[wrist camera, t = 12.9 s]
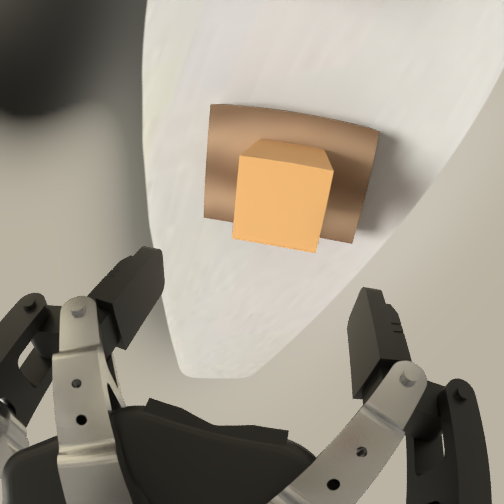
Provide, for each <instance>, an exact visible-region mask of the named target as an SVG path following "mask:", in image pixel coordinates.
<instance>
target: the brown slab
mask: <svg viewBox="0 0 504 504" xmlns="http://www.w3.org/2000/svg"><path fill="white" fill-rule="evenodd" d="M378 137H379V131H377V130H374V129H371V128H368V127H364V126H360V125H356V124H352V123H348V122H343V121H339V120H334V119H329V118H324V117H319V116H314V115H308V114H303V113H297V112H290V111H284V110H276V109H269V108H260V107H251V106H241V105H228V104H211V106H210V117H209V130H208V144H207V159H206V176H205V197H204V218H210V219H216V220H222V221H228V222H234V211H235V200H236V188H237V177H238V167H239V156H240V155H241V154H242V153H243V152H244V151H246V150H247V149H248V148H249V147H251V146H252V145H253V144H254V143H255V142H257V141H258V140H259V139H266V140H273V141H280V142H287V143H293V144H299V145H305V146H310V147H316V148H321V149H324V150H325V153H326V155H327V157H328V159H329V161H330V164H331V166H332V168H333V170H334V172H333V177H332V182H331V187H330V192H329V197H328V201H327V206H326V210H325V215H324V219H323V224H322V228H321V232H320V237H319V238H325V239H330V240H335V241H340V242H346V243H351V244H352V242H353V239H354V235H355V232H356V228H357V225H358V221H359V217H360V214H361V210H362V206H363V202H364V199H365V195H366V191H367V187H368V183H369V178H370V174H371V170H372V165H373V161H374V156H375V151H376V147H377V142H378Z"/></svg>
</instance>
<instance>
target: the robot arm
mask: <svg viewBox="0 0 504 504" xmlns="http://www.w3.org/2000/svg"><path fill="white" fill-rule="evenodd" d="M164 283H165V279H164V267H163V255H162V251H161V250H160V249H156V248H151V247H146V246H143V247H141V249H139V251H138V252H137V253H136V254H135V255H134V256H129V257H127V258H125V259H123V260H121V261H120V262H119V263H118V264H117V265H116V266H115V267H114V268H113V270H111V271H110V272H109V273H108V274H107V276H105V277H104V278H103V279H102V281H101V282H100V283H99V284H98V285H97V286H96V287H95V288H94V289H93V290H92V291H91V293H90V294H89V295H88V296H77V297H74V298H71V299H70V300H68V301H67V302H66V303H65V304H64V305H63V306H51V305H50V306H49V305H47V303H46V300H45V298H44V296H43V295H41V294H39V293H31V294H28V295H26V296H24V297H23V298H21V299H20V300H19V301H18V302H17V303H16V304H15V306H14V307H13V308H12V309H11V310H10V311H9V312H8V314H7V315H6V316H5V317H4V318H3V319H2V320H1V322H0V478H1V479H2V491H3V504H355V503H356V502H357V501H358V499H359V498H360V497H361V496H362V495H363V494H364V493H365V491H366V490H367V489H368V488H369V486H370V485H371V484H372V482H373V481H374V480H375V478H376V477H377V476H378V474H379V473H380V472H381V470H382V469H383V467H384V466H385V465H386V463H387V462H388V460H389V459H390V457H391V456H392V454H393V453H394V451H395V450H396V448H397V447H398V445H399V443H400V442H401V440H402V439H403V437H404V435H406V448H407V498H406V504H492V500H491V482H490V471H489V463H488V455H487V448H486V442H485V436H484V431H483V427H482V421H481V417H480V412H479V408H478V404H477V400H476V396H475V392H474V390H473V388H472V387H471V386H470V385H469V384H468V383H467V382H466V381H464V380H462V379H453V380H451V381H450V382H449V383H448V384H447V385H446V386H441V385H439V384H436V383H432V382H430V381H427V378H426V375H425V373H424V371H423V370H422V369H421V368H420V367H419V366H418V365H417V364H415V363H413V362H412V361H411V358H410V353H409V350H408V346H407V342H406V339H405V335H404V334H403V329H402V326H401V322H400V319H399V316H398V313H397V312H396V311H395V309H394V308H393V307H392V306H391V305H390V304H386V303H385V300H384V297H383V294H382V291H381V290H377V289H371V288H365V287H363V288H362V289H361V290H360V293H359V295H358V298H357V300H356V303H355V305H354V307H353V310H352V312H351V315H350V317H349V321H348V327H347V333H348V343H349V353H350V365H351V378H352V394H353V399H363V406H362V407H361V409H360V410H359V411H358V412H357V413H356V415H355V416H354V417H353V418H352V419H351V421H350V422H349V423H348V424H347V425H346V426H345V428H344V429H343V430H342V431H341V432H340V433H339V435H337V437H336V438H335V439H334V440H333V441H332V442H331V443H330V444H329V445H328V446H327V447H326V448H325V449H324V450H323V451H322V452H321V453H320V454H319V455H318V456H317V457H315V456H314V455H313V454H312V453H311V452H310V451H308V450H307V449H306V448H304V447H303V446H301V445H299V444H297V443H295V442H293V441H291V440H288V439H287V437H288V430H280V429H273V428H267V427H261V426H255V425H245V426H244V425H241V426H217V425H213V424H210V423H208V422H206V421H204V420H202V419H200V418H198V417H197V416H195V415H193V414H191V413H189V412H188V411H186V410H184V409H182V408H179V407H176V406H173V405H170V404H166V403H163V402H160V401H157V400H154V399H152V398H149V400H148V402H147V404H146V406H127V407H126V405H125V402H124V399H123V397H122V394H121V390H120V385H119V381H118V376H117V371H116V366H115V361H114V356H113V353H112V352H113V350H114V348H115V347H119V348H121V349H124V350H126V349H127V347H128V346H129V344H130V343H131V341H132V339H133V338H134V336H135V335H136V333H137V331H138V330H139V328H140V326H141V325H142V324H143V322H144V320H145V319H146V317H147V316H148V314H149V313H150V311H151V310H152V308H153V306H154V305H155V304H156V302H157V300H158V299H159V297H160V296H161V294H162V292H163V289H164ZM30 341H31V342H32V344H33V346H34V348H33V350H32V351H31V353H30V354H29V355H28V357H27V358H26V360H25V361H24V363H23V364H22V366H21V367H20V369H19V367H18V359H19V356H20V355H21V353H22V352H23V350H24V349H25V348H26V346H27V345H28V344H29V342H30ZM52 380H53V397H54V409H55V420H56V428H57V436H55V437H52V438H50V439H47V440H45V441H43V442H40V443H37V444H35V445H32V446H30V447H28V446H29V441H28V439H27V438H26V437H27V432H26V427H27V425H28V423H29V421H30V419H31V417H32V415H33V413H34V412H35V410H36V408H37V406H38V404H39V403H40V401H41V399H42V397H43V396H44V394H45V392H46V390H47V389H48V387H49V385H50V384H51V382H52ZM442 434H443V438H444V448H445V455H443V446H442V445H443V444H442V436H441V435H442Z"/></svg>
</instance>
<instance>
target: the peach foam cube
mask: <svg viewBox="0 0 504 504" xmlns="http://www.w3.org/2000/svg"><path fill="white" fill-rule="evenodd" d="M333 172H334V170H333V168H332V166H331V164H330V161H329V159H328V157H327V155H326V153H325V150H324V149H321V148H316V147H310V146H305V145H299V144H293V143H287V142H280V141H273V140H266V139H259V140H258V141H257V142H255V143H254V144H253V145H252V146H251V147H249V148H248V149H247V150H246V151H244V152H243V153H242V154H241V155H240V156H239V167H238V177H237V188H236V200H235V211H234V223H233V235H232V238H233V239H239V240H245V241H250V242H256V243H262V244H267V245H273V246H279V247H284V248H290V249H295V250H301V251H307V252H312V253H316V249H317V245H318V241H319V237H320V232H321V228H322V224H323V219H324V215H325V210H326V206H327V201H328V197H329V192H330V187H331V182H332V177H333Z"/></svg>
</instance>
